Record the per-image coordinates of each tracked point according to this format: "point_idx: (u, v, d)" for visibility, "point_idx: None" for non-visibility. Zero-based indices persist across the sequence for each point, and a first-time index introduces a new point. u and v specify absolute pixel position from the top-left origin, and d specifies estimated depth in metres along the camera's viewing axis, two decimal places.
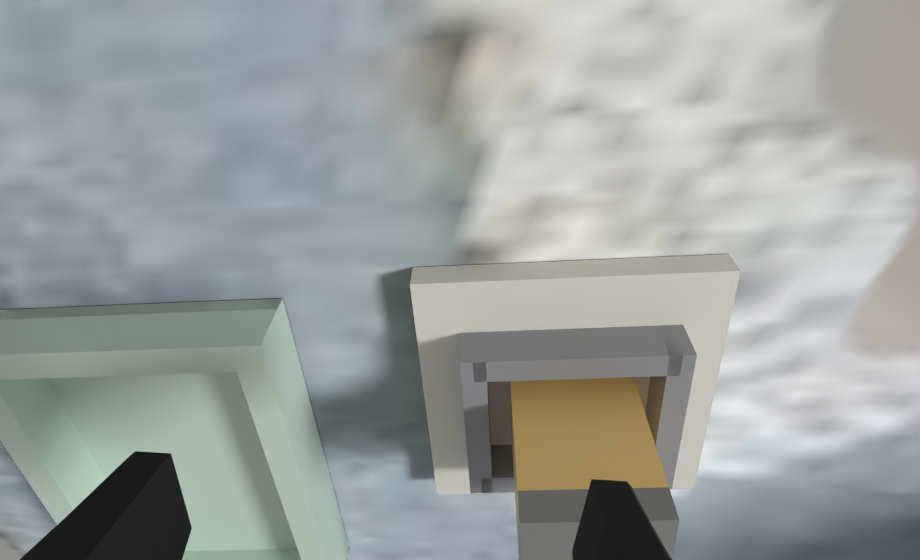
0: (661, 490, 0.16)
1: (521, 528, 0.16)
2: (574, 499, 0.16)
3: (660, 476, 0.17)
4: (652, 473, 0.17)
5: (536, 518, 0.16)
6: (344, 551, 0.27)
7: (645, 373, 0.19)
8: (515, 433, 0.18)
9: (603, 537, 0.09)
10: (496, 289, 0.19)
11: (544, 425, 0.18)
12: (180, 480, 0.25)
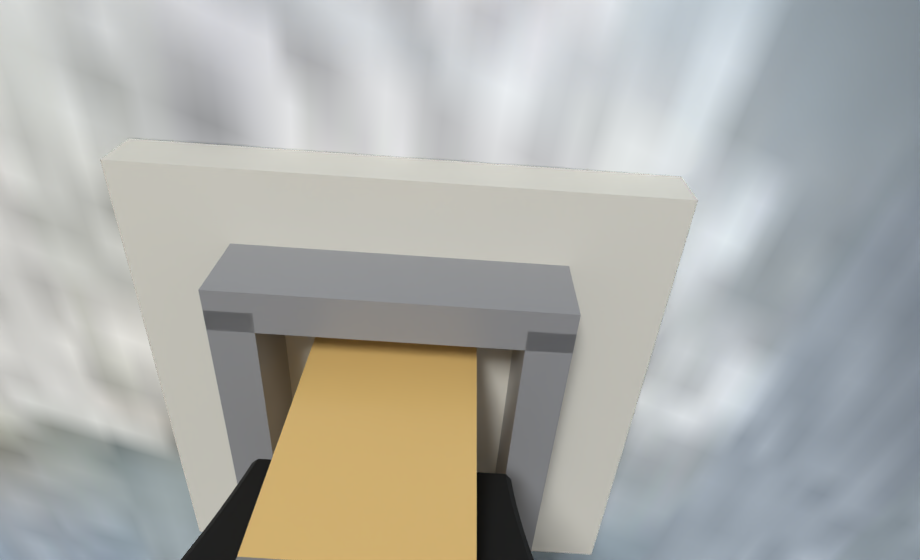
0: None
1: None
2: None
3: (246, 537, 0.08)
4: (251, 538, 0.08)
5: None
6: None
7: (261, 355, 0.11)
8: None
9: None
10: (194, 461, 0.14)
11: None
12: None
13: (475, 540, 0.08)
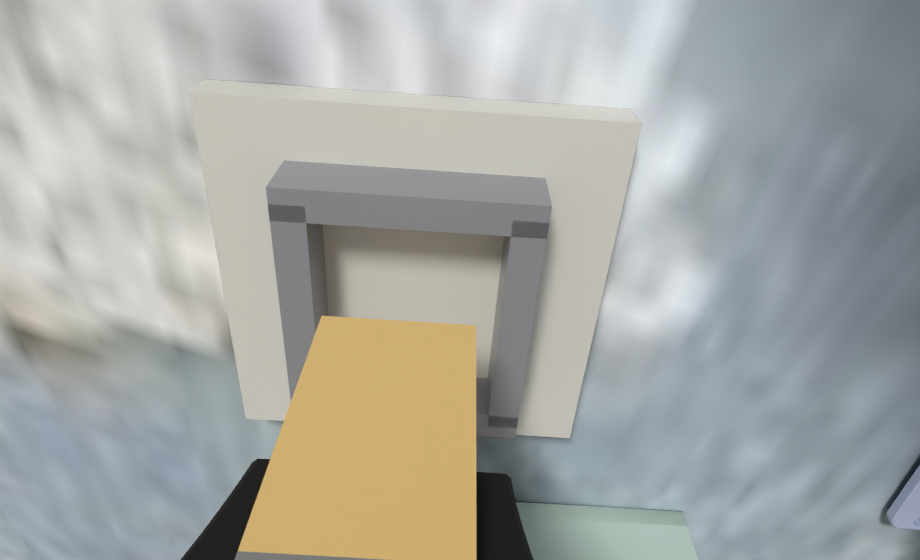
0: None
1: None
2: None
3: None
4: (251, 533, 0.08)
5: None
6: (666, 525, 0.22)
7: (309, 244, 0.14)
8: None
9: None
10: (245, 352, 0.17)
11: None
12: None
13: (475, 534, 0.08)
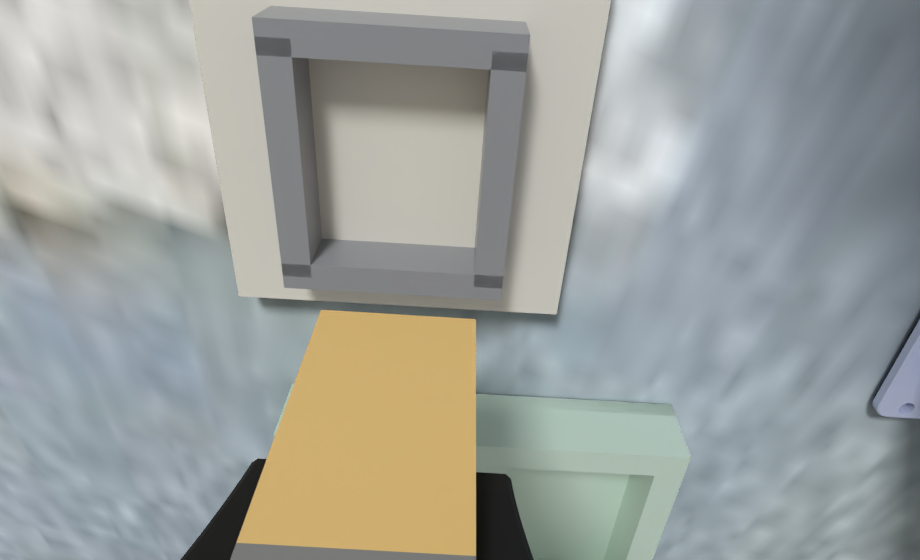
0: None
1: None
2: None
3: (245, 524, 0.08)
4: (251, 525, 0.08)
5: None
6: (654, 415, 0.22)
7: (295, 82, 0.14)
8: None
9: None
10: (236, 221, 0.18)
11: None
12: None
13: (474, 526, 0.08)
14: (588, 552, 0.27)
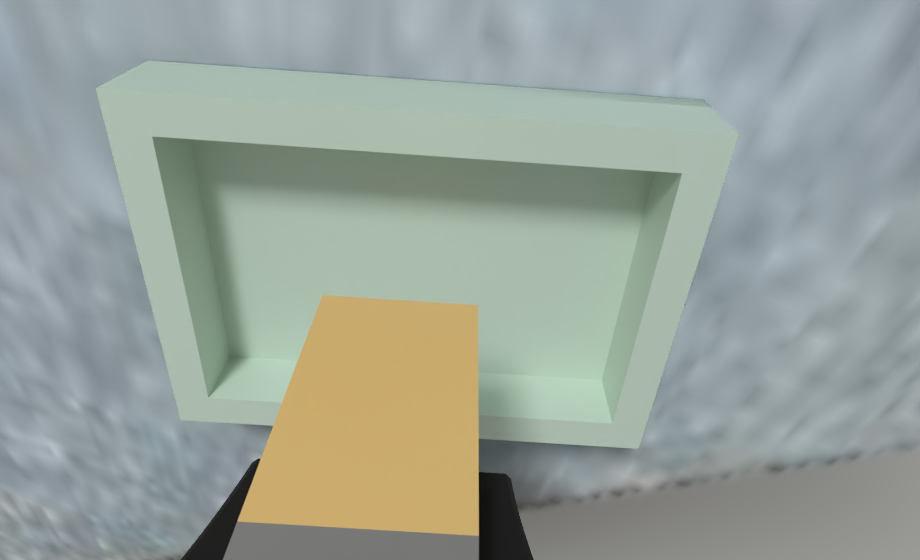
0: None
1: None
2: None
3: None
4: (251, 506, 0.08)
5: None
6: (680, 105, 0.15)
7: None
8: None
9: None
10: None
11: None
12: (462, 291, 0.18)
13: (477, 507, 0.08)
14: (582, 363, 0.20)
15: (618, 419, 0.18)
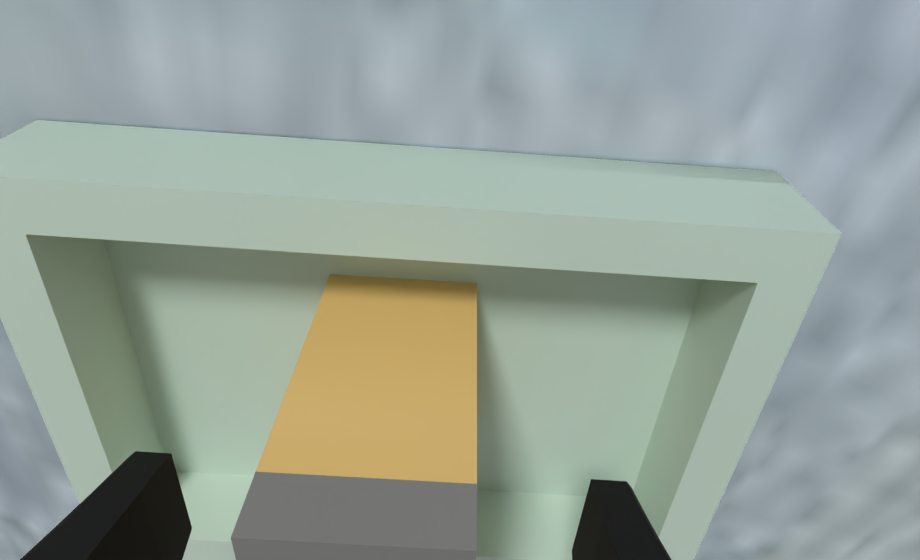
0: None
1: None
2: None
3: None
4: (268, 460, 0.09)
5: None
6: (748, 181, 0.11)
7: None
8: None
9: (603, 537, 0.09)
10: None
11: None
12: None
13: (475, 459, 0.09)
14: None
15: None
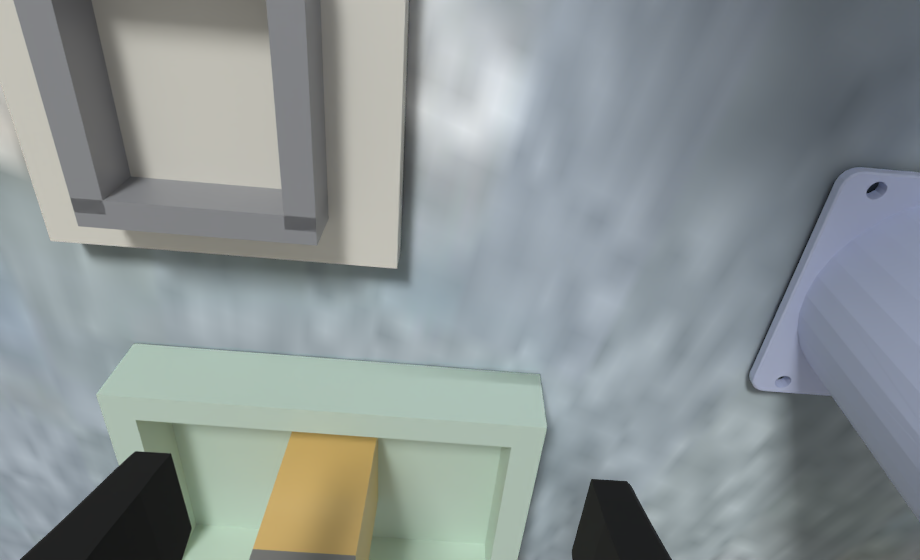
0: None
1: None
2: None
3: None
4: (258, 541, 0.18)
5: None
6: (519, 384, 0.21)
7: None
8: None
9: (603, 537, 0.09)
10: (34, 154, 0.16)
11: None
12: None
13: (357, 542, 0.18)
14: (468, 533, 0.25)
15: None
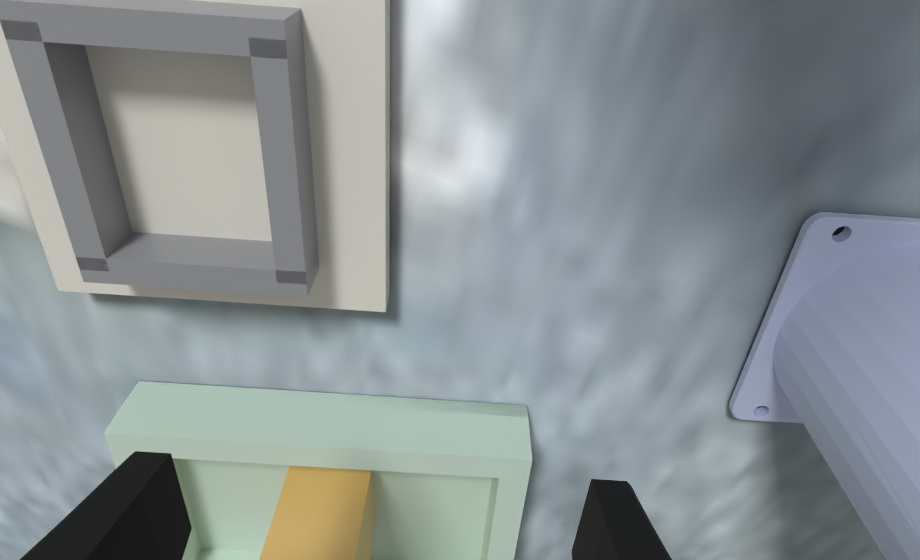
0: None
1: None
2: None
3: None
4: None
5: None
6: (506, 416, 0.22)
7: (54, 68, 0.14)
8: None
9: (603, 537, 0.09)
10: (41, 213, 0.17)
11: None
12: None
13: None
14: (463, 555, 0.26)
15: None
